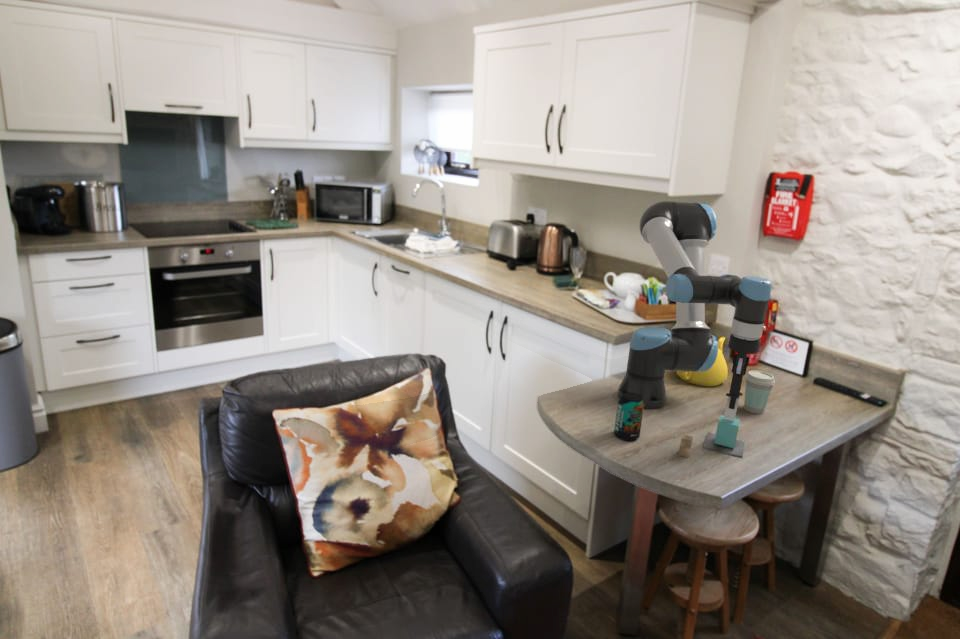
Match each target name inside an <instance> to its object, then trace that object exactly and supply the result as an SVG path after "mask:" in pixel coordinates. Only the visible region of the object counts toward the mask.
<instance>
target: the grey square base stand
mask: <svg viewBox="0 0 960 639" xmlns="http://www.w3.org/2000/svg"><path fill="white" fill-rule="evenodd" d="M715 437H716V433H711V432H707V435H706V437H705V440H704V444H703V446H702V449H707V450H710V451H714V452H717V453H723V454H726V455H729V456H730V455H731V456H734V457H737V458H743V456H744V449H745V440H741V439H736V442H735V447H734V448H730V447H727V446H723V445H719V444H715V443H714V442H715Z"/></svg>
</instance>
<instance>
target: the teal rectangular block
mask: <svg viewBox="0 0 960 639" xmlns="http://www.w3.org/2000/svg"><path fill="white" fill-rule="evenodd" d="M724 416H725V414H724V415H723V414H720V415H719V418H718V422H717V427H716V433H715V434H716V437H715V442H714V443H715V444H719V445H723V446H727V447H730V448H734V447H735V442H736V440H737V437H738V432H739V428H740V423H741V418H736V417H735V420H732V419H727V418H724Z"/></svg>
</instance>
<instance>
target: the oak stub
mask: <svg viewBox="0 0 960 639" xmlns="http://www.w3.org/2000/svg"><path fill="white" fill-rule="evenodd" d="M693 439H694V436H692V435H688V434H682V436H681V439H680V444H679V450H678V453H677V454H678V456H679V457H683V458H689V457H690V454H691V451H692V450H691V449H692V444H693Z"/></svg>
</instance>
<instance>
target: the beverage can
mask: <svg viewBox="0 0 960 639" xmlns="http://www.w3.org/2000/svg"><path fill="white" fill-rule="evenodd" d="M644 409H645V408H644V402H643V397H642V396H640V395H638V394H636V393H630V392H627V393H623V394H622V395H621V398H620V399H619V398H618V401H617V407H616V414H615V415H616V416H615V421H614V428H613V433H614V436H616V438H618V439H619V440H622V441H627V442H633V441H636V440H638V439H639V438H640V435H641V428H642V422H643V416H644Z"/></svg>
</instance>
